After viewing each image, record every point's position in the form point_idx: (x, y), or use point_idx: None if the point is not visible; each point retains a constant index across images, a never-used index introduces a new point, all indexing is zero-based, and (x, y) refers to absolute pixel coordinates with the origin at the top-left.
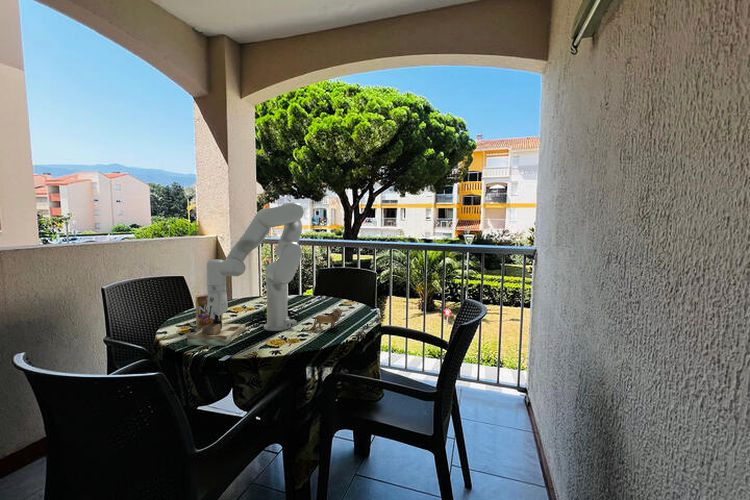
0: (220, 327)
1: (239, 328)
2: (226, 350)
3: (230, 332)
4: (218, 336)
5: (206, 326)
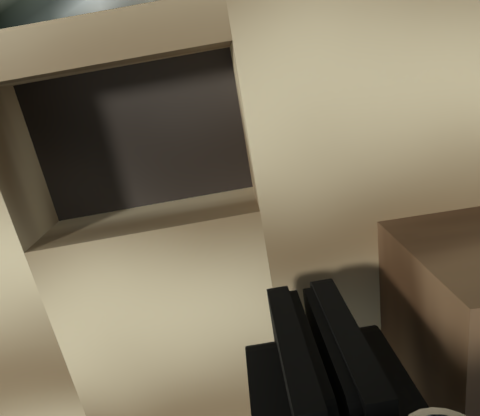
0: (425, 264)
1: (58, 29)
2: None
3: (329, 68)
4: None
5: None
